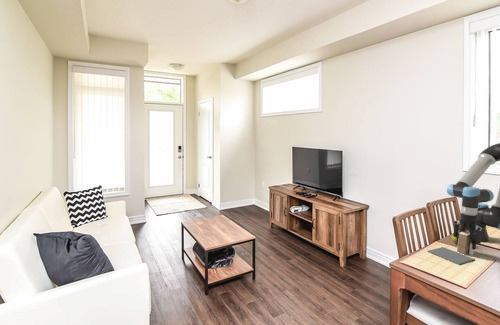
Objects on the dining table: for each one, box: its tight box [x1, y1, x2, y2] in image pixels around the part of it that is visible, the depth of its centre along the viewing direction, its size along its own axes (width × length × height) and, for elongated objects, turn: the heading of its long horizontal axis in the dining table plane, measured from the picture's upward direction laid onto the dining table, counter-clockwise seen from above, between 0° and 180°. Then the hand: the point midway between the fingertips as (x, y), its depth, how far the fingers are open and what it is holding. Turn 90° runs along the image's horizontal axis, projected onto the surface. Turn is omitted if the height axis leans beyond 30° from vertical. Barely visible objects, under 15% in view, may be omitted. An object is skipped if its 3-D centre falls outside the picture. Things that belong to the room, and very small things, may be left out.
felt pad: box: [427, 246, 475, 266], centre depth 155 cm, size 14×17×1 cm
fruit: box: [451, 229, 460, 245], centre depth 171 cm, size 7×7×12 cm
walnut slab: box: [456, 231, 472, 256], centre depth 159 cm, size 8×4×12 cm, turn 113°
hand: (465, 251), depth 160 cm, fingers open, 6 cm apart
